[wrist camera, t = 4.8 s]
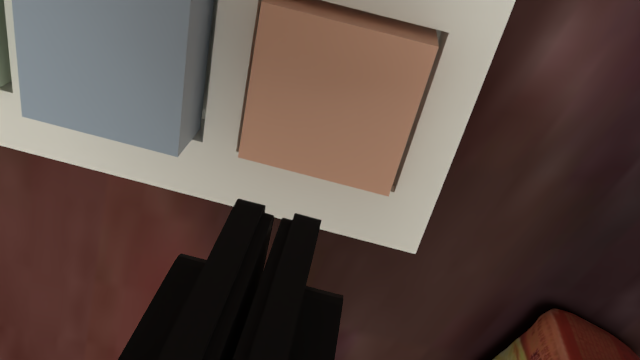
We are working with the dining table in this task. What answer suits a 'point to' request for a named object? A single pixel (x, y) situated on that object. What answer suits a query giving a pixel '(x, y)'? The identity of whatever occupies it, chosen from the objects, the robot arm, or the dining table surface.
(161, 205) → the dining table surface
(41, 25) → the button slate
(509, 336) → the dining table surface
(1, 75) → the button sage
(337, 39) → the button terracotta
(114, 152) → the button panel
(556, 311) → the snack package
